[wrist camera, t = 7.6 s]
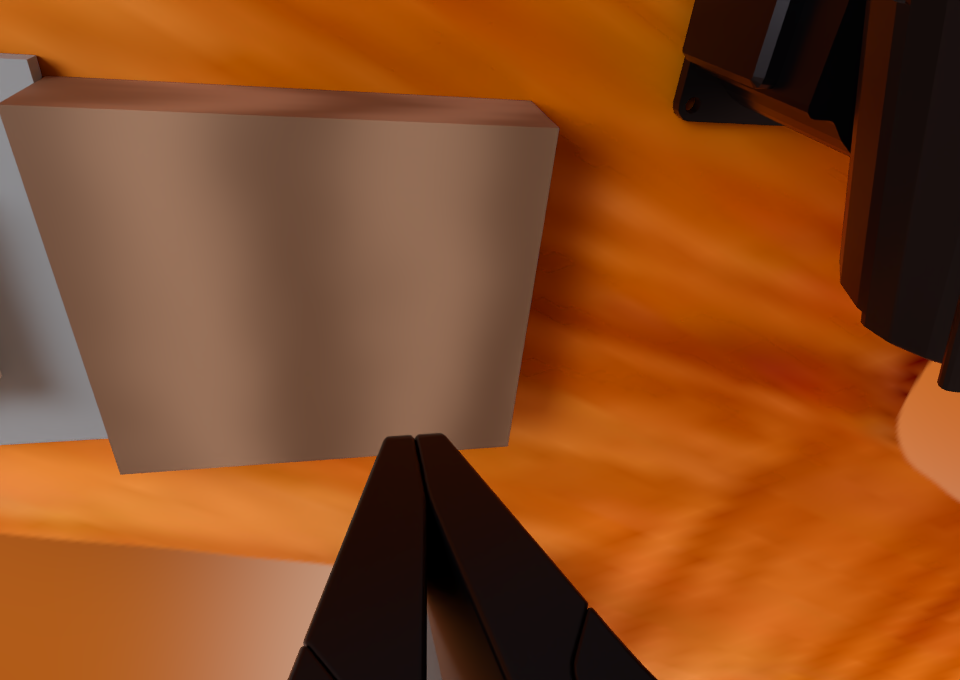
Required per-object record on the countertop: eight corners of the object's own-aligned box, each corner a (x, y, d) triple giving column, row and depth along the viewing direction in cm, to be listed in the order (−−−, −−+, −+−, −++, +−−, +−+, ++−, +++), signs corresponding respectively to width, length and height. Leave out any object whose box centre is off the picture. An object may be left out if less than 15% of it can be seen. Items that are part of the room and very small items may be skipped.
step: (530, 100, 19) (559, 128, 17) (491, 396, 26) (507, 446, 23) (46, 76, 16) (-4, 104, 14) (142, 415, 23) (120, 474, 21)
